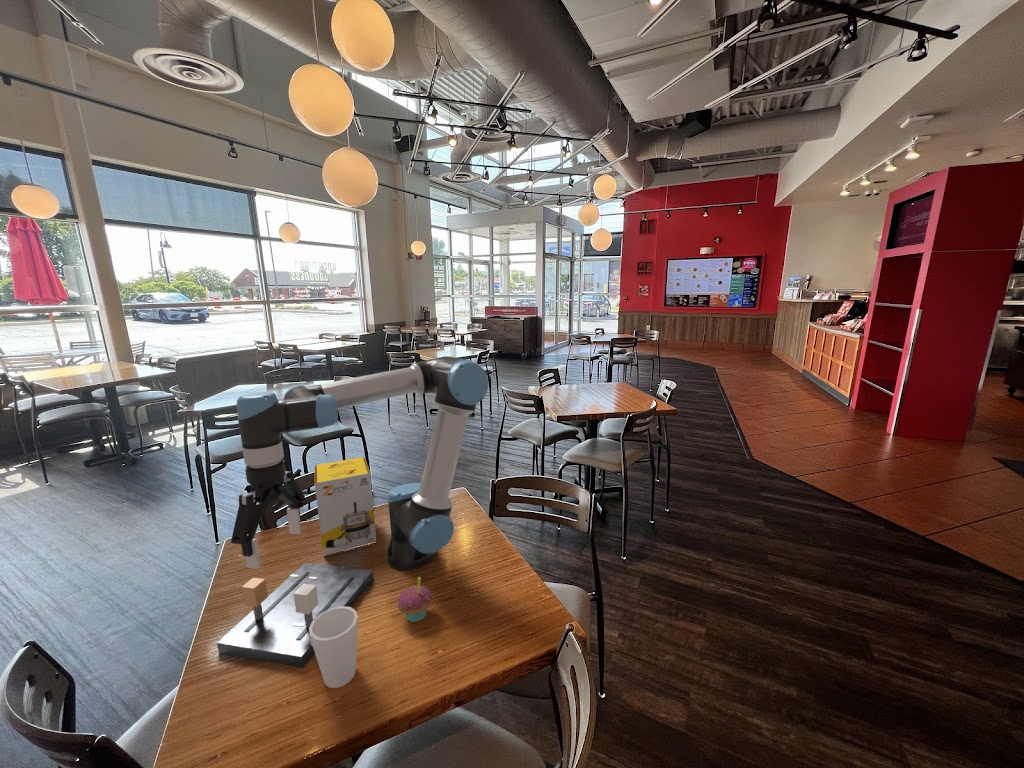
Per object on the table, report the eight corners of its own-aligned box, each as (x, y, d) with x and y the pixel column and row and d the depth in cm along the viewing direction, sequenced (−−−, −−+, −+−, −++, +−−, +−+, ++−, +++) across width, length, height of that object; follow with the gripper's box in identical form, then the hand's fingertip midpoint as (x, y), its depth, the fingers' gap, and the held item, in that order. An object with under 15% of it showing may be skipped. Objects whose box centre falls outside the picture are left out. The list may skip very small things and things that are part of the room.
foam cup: (325, 658, 93) (319, 607, 91) (367, 654, 94) (362, 604, 91) (309, 697, 84) (301, 642, 81) (355, 693, 85) (349, 638, 82)
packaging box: (323, 556, 131) (314, 483, 126) (322, 532, 146) (314, 465, 141) (376, 543, 138) (370, 473, 133) (370, 521, 152) (364, 456, 148)
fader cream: (320, 620, 100) (316, 585, 98) (311, 631, 97) (306, 595, 95) (308, 619, 101) (303, 583, 99) (298, 629, 97) (293, 593, 95)
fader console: (374, 579, 120) (373, 569, 119) (304, 668, 91) (302, 656, 90) (306, 571, 124) (304, 562, 123) (218, 653, 95) (216, 641, 94)
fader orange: (270, 613, 103) (265, 579, 101) (259, 624, 99) (253, 588, 97) (258, 612, 103) (253, 577, 101) (247, 622, 100) (241, 586, 98)
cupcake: (439, 607, 108) (436, 566, 106) (421, 631, 100) (418, 588, 98) (410, 600, 111) (407, 560, 109) (391, 623, 103) (387, 580, 101)
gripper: (288, 443, 104) (297, 520, 108) (199, 484, 80) (215, 582, 84) (315, 444, 103) (323, 522, 107) (233, 487, 79) (248, 586, 83)
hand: (276, 549), depth 96 cm, fingers open, 13 cm apart
